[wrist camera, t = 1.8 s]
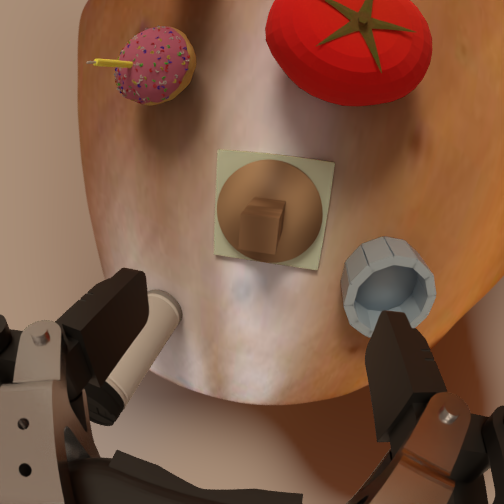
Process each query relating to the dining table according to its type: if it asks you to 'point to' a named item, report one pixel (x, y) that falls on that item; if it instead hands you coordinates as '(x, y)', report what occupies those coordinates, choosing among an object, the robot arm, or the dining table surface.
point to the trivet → (312, 168)
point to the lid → (270, 211)
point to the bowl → (386, 283)
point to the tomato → (350, 48)
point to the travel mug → (134, 360)
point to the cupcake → (153, 65)
